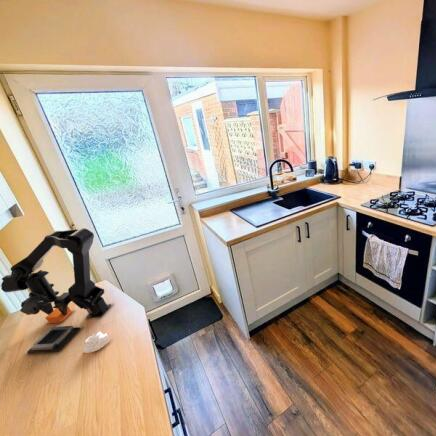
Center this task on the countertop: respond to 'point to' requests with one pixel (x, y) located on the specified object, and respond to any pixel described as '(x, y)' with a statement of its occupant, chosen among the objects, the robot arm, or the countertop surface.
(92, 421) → the countertop surface
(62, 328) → the mount plate
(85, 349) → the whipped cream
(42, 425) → the countertop surface
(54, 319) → the orange block
